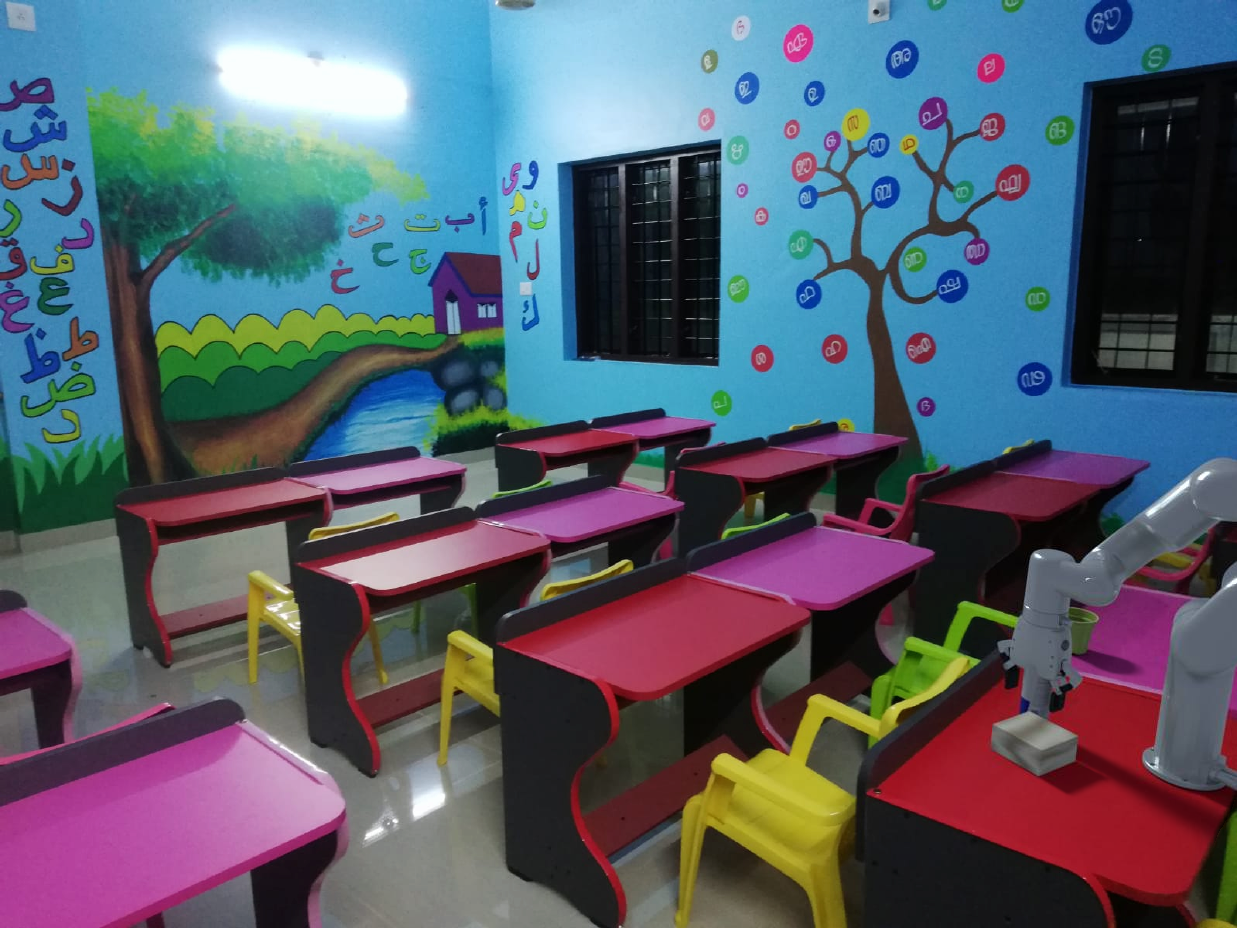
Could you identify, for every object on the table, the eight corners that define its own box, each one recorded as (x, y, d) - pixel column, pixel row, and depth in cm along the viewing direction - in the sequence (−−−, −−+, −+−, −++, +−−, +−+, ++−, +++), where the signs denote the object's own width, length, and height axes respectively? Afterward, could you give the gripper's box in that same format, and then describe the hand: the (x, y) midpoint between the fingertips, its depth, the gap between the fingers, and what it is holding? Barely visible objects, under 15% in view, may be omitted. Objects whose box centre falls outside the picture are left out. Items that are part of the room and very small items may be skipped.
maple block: (1075, 761, 156) (1078, 735, 155) (1038, 776, 152) (1041, 750, 151) (1026, 735, 165) (1029, 711, 164) (990, 748, 160) (992, 724, 159)
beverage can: (1041, 722, 170) (1049, 651, 166) (1051, 736, 165) (1060, 663, 161) (1013, 721, 170) (1021, 650, 167) (1023, 735, 165) (1031, 662, 162)
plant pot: (1039, 645, 204) (1043, 610, 202) (1067, 638, 208) (1071, 603, 206) (1075, 661, 195) (1079, 625, 194) (1103, 653, 199) (1108, 618, 197)
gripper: (1101, 629, 156) (1087, 715, 161) (1018, 596, 171) (1007, 675, 175) (1074, 637, 153) (1061, 725, 157) (992, 602, 168) (981, 683, 172)
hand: (1032, 698), depth 166 cm, fingers open, 9 cm apart
